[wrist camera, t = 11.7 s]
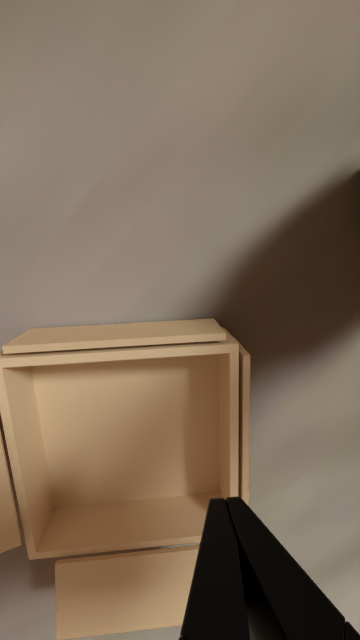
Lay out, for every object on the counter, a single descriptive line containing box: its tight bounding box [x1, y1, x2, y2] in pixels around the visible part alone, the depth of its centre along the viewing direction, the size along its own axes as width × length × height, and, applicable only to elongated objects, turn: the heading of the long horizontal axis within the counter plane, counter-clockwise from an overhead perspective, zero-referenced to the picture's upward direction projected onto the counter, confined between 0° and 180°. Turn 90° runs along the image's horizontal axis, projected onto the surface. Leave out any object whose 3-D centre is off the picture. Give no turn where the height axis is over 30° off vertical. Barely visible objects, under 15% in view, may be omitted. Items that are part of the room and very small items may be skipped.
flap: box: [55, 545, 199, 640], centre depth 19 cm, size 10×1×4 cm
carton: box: [0, 318, 250, 560], centre depth 19 cm, size 14×14×4 cm
